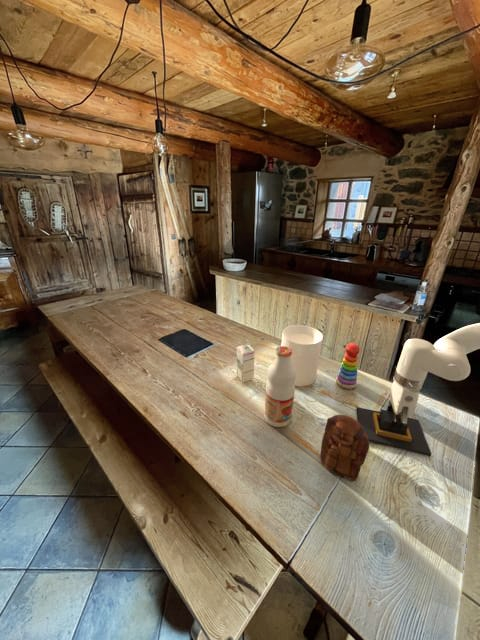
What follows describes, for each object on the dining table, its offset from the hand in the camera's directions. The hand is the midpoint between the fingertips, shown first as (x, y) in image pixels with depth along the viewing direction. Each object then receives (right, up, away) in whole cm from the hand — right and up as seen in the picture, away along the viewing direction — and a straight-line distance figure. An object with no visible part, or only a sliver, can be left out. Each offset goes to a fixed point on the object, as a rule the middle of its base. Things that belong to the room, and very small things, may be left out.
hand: (392, 422), depth 87 cm
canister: (-25, +10, +28) cm, 39 cm away
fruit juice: (-37, -1, +6) cm, 38 cm away
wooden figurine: (-22, -9, -10) cm, 26 cm away
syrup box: (-48, +9, +26) cm, 55 cm away
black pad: (0, 0, 0) cm, 0 cm away
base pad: (0, -3, +2) cm, 4 cm away
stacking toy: (-6, +7, +23) cm, 25 cm away
